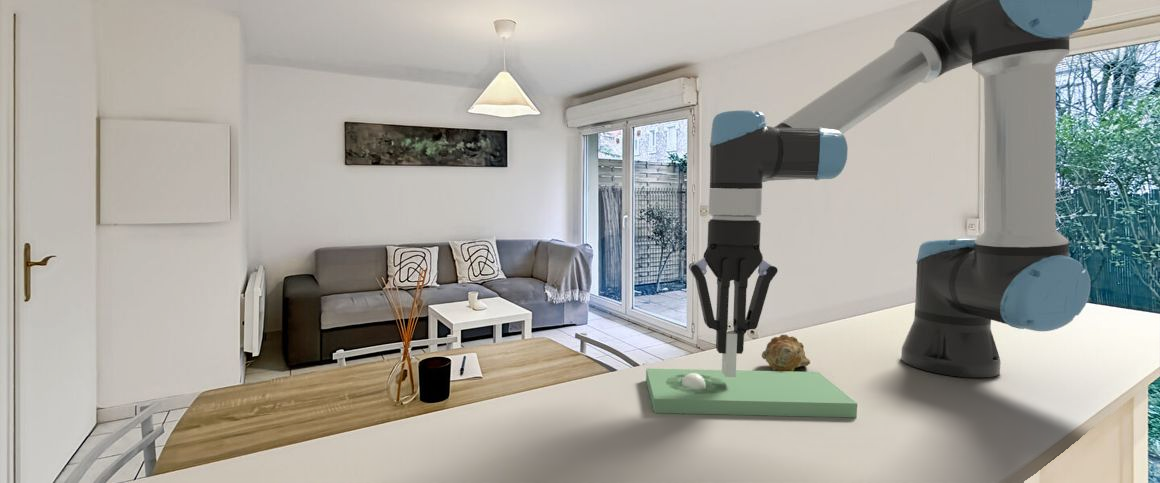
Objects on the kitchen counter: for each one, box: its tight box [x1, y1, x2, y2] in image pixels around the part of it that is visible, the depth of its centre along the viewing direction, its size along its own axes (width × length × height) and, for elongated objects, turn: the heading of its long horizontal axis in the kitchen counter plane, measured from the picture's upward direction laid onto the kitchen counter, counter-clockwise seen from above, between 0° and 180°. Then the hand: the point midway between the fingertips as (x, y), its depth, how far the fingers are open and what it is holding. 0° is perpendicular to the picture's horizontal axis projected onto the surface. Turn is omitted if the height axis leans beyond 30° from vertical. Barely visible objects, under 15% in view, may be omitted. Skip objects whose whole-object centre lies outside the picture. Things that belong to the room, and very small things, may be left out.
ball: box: [682, 373, 706, 389], centre depth 86 cm, size 4×4×4 cm
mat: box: [645, 368, 858, 418], centre depth 86 cm, size 28×14×2 cm, turn 88°
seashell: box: [761, 334, 811, 372], centre depth 100 cm, size 9×8×10 cm
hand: (728, 373), depth 86 cm, fingers closed
